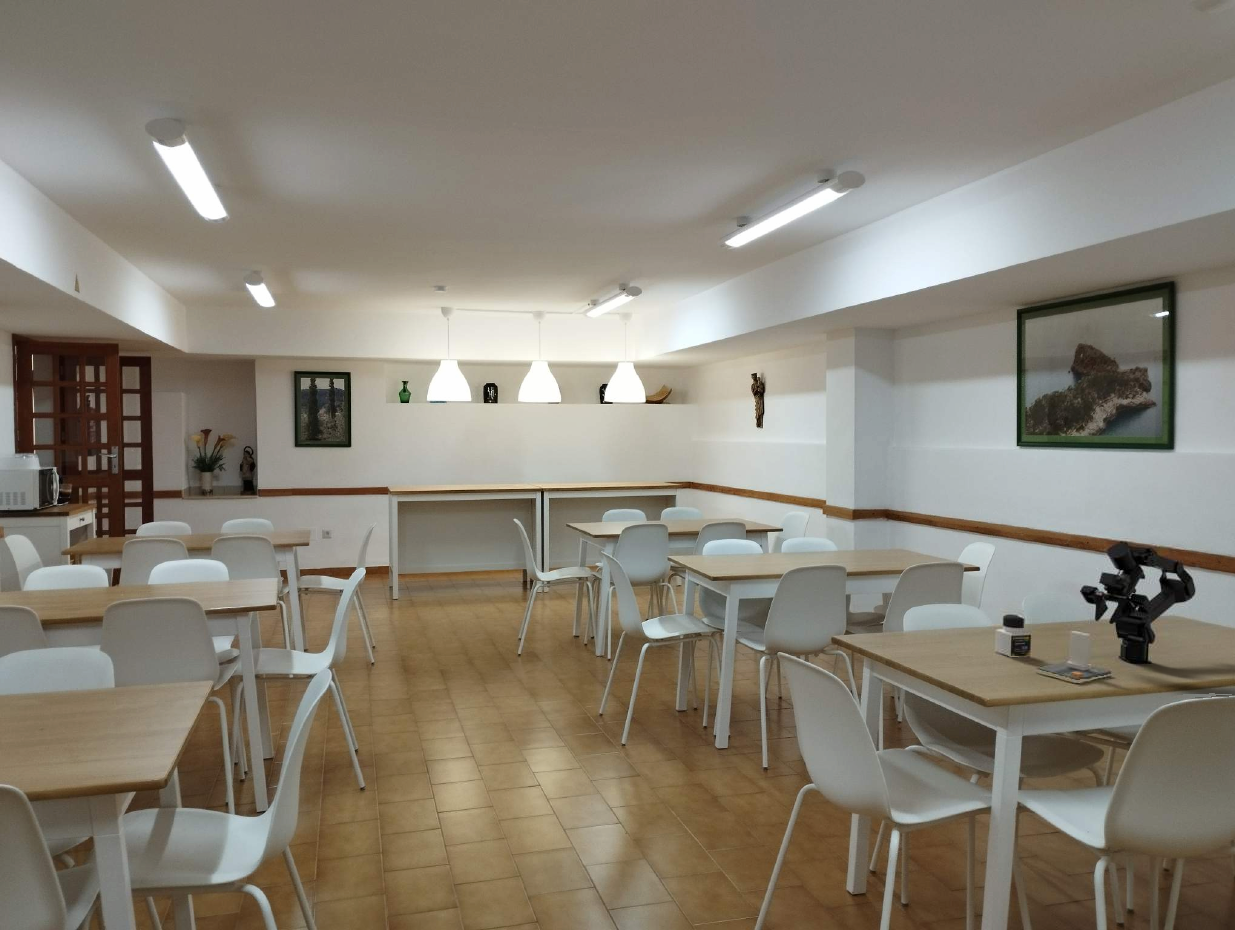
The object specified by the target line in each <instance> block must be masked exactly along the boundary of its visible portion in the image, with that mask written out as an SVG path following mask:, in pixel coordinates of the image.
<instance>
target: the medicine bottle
mask: <svg viewBox="0 0 1235 930" xmlns="http://www.w3.org/2000/svg"><path fill="white" fill-rule="evenodd" d="M1025 624H1026V619H1025V617H1024V616H1022V615H1019V614H1014V613H1013V614H1005V615H1003V616H1002V628H999V629H996V630H995V646H994V647H995V650H994V651H998V652H1000V653H1003V654H1007V655H1008V656H1030V657H1031V647H1032V646H1031V645H1032V644H1031V643H1032V642H1031V641H1032V634H1031V633H1029V632H1027V631H1025Z"/></svg>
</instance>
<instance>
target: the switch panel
mask: <svg viewBox="0 0 1235 930" xmlns="http://www.w3.org/2000/svg"><path fill="white" fill-rule="evenodd" d="M1066 662H1069V660H1067V661H1063V662H1059V663H1053V664H1048V665H1045V666H1040V667H1035V669H1039V670H1042V671H1046V672H1051V673H1053V674H1058V675H1060V676H1065V677H1069V678H1071V679H1075V680H1080V679H1090V678H1092V677H1098V676H1104V675H1108V674H1111V675H1112V670H1108V669H1105V668H1101V667H1097V666H1093V665H1092V669H1089V670H1085V671H1082V670H1079V669H1075V668H1071V667H1067V666H1066Z"/></svg>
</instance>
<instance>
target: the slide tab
mask: <svg viewBox="0 0 1235 930" xmlns="http://www.w3.org/2000/svg"><path fill="white" fill-rule="evenodd" d="M1068 651H1069V653H1068V661H1069V662H1067V661H1065V662H1066V666H1067V667H1071V668H1075V669H1079V670H1082V671H1085V670H1089V669H1092V666H1093V664H1090V658H1091V633H1090V634H1089V633H1085V632H1081V631H1076V630H1072V631H1070V632H1069V649H1068Z"/></svg>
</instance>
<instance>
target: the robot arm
mask: <svg viewBox="0 0 1235 930" xmlns="http://www.w3.org/2000/svg"><path fill="white" fill-rule="evenodd" d="M1158 553H1159V552H1158V551H1157V550H1155V549H1154V548H1153V547H1149V546H1139V545H1132V544H1130V545H1129V543H1128V542H1127V541H1122V540H1120V541H1119V542H1118V543H1116V544H1113V545H1111V546H1110V547H1108V548H1107V550H1106V554H1107V556H1108V557H1109V559H1110V562H1111V563H1112V565H1113V566H1114V568H1115V569H1116V570H1118V572H1117V574H1114V573H1109V572H1101V574H1100V578H1099V582H1098V583H1099V584H1101V585H1103V589H1104V591H1106V592H1104V591H1103V590H1100V589H1099V588H1098V586H1093V585H1086V584H1085V585H1083V586H1082V587H1081V588H1080V591H1079V593H1080V594H1081V596H1082V597H1083V599H1084V601H1085V602H1086V603H1088V604H1090V605H1095V612H1094V621H1095V622H1099V620H1100V619H1101V618H1103V616H1104V614H1105V613H1106V612H1107V611H1108V610H1109V606H1108V605H1107V602H1109V603H1110V602H1111V603H1116V604H1117V606H1116V607H1115V609H1114V612H1113V613H1112V615H1111V616H1110V619H1109V621H1108V623H1109V624H1110V625H1115V632H1116V638H1117V639H1121V640H1122V641H1121V644H1120V650H1119V651H1120V654H1119V655H1118V659H1121V660H1123V661H1125V660H1126V661H1125V662H1127V661H1128V663H1129V662H1131V663H1130V664H1142V663H1141V662H1148V663H1147V664H1152V663H1151V662H1152V661H1151V660H1149V652H1150V650H1149V648H1150V645H1153V644H1154V643H1155V640H1156V634H1155V633H1154V630H1153V629H1152V625H1151V624H1152V623H1153V622H1154V621H1155V620H1157V619H1158V618H1160V616H1162V615H1163V614H1164V613H1165V612H1166V611H1167V610H1169V609H1171V607H1173V606H1174V605H1175V604H1182V603H1186V602H1188V601H1190V600H1191V599H1192V598H1193V597H1194V596H1195V594H1196V586H1195V582H1194V579H1193V577H1192V575H1191V574H1189V573H1188V571H1186V569H1185V567H1184V563H1183V562H1182V561H1180V560H1174V559H1172V558H1169V557H1165V556H1163V555H1159V554H1158ZM1142 567H1148V568H1153V569H1157V570H1159V571H1161V575H1160V577H1159V578H1158V579H1159V580H1158V582H1159V586H1160V592H1159V593H1157V594H1156V595H1155V596H1154V597H1152V598H1151V599H1150V600H1149V597H1148V596H1147V595H1145V594H1141V593H1140V594H1139V593H1137V588H1136V587H1137V586H1138V584H1139V581H1140V580H1145V579H1146V575H1145V573H1144V569H1143V568H1142ZM1167 573H1169V574H1175V575H1176V576H1177V578H1179V579H1177V578H1169V577H1168V575H1167ZM1149 662H1150V663H1149Z"/></svg>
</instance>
